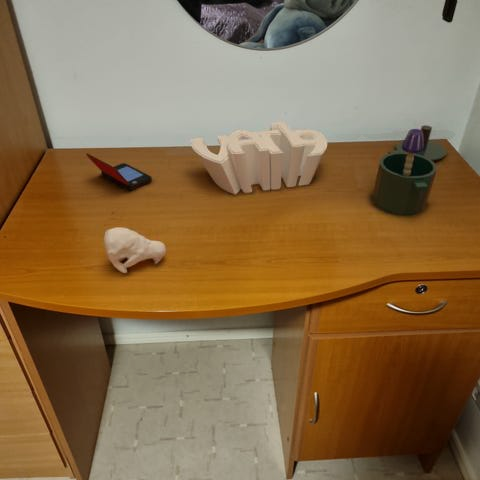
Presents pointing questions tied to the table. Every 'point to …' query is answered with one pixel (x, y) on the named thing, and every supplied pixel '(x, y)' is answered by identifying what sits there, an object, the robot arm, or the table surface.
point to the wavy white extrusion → (263, 158)
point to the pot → (403, 184)
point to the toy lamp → (412, 148)
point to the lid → (427, 146)
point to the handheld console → (122, 174)
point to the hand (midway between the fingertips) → (469, 20)
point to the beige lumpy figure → (131, 248)
